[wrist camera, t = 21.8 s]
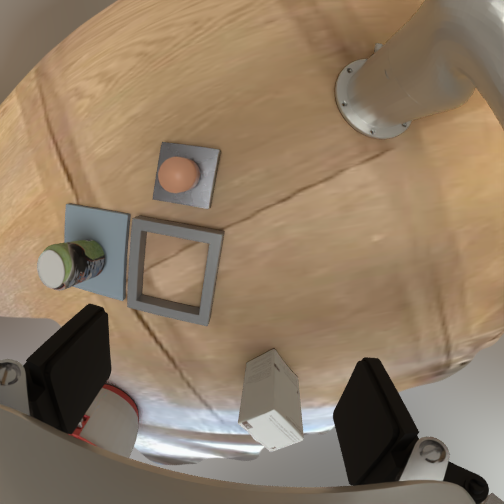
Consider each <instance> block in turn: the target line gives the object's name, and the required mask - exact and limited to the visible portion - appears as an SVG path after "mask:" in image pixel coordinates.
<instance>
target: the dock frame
mask: <svg viewBox="0 0 504 504" xmlns="http://www.w3.org/2000/svg"><path fill="white" fill-rule="evenodd" d="M147 232H152V233H157V234H162V235H167V236H173V237H178V238H183V239H188V240H193V241H198V242H203V243H209V244H210V245H209V251H208V257H207V264H206V270H205V277H204V284H203V291H202V298H201V305H200V308H199V307H194V306H190V305H185V304H180V303H176V302H172V301H167V300H163V299H159V298H154V297H150V296H146V295H142V285H143V270H144V257H145V245H146V235H147ZM224 232H225V231H220V230H215V229H209V228H204V227H199V226H193V225H188V224H183V223H177V222H172V221H166V220H161V219H155V218H150V217H144V216H137V217H135V218H133V220H132V231H131V242H130V256H129V273H128V303H127V307H129V308H133V309H137V310H140V311H144V312H148V313H152V314H156V315H160V316H165V317H169V318H173V319H177V320H182V321H186V322H191V323H195V324H200V325H204V326H208V324H209V321H210V317H211V310H212V304H213V298H214V291H215V285H216V279H217V273H218V267H219V261H220V255H221V249H222V243H223V238H224Z"/></svg>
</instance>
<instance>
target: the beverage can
mask: <svg viewBox="0 0 504 504" xmlns="http://www.w3.org/2000/svg"><path fill="white" fill-rule="evenodd" d="M104 265H105V255H104V251H103V249H102V247H101V246H100V245H99V244H98V243H97V242H96V241H94V240H91V239H86V240H79V241H73V242H66V243H60V244H53V245H50V246H48V247H47V248H46V249H45V250H44V251H43V253H42V254H41V255H40V256H39V259H38V263H37V270H38V275H39V277H40V279H41V281H42V282H43V284H44V285H46V286H47V287H49V288H52V289H54V290H64V289H67V288H69V287H71V286H74V285H76V284H79V283H81V282H84V281H86V280H89V279H91V278H94V277H96V276H98V275H99V274H100V273H101V272H102V270H103V268H104Z"/></svg>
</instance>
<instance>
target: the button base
mask: <svg viewBox="0 0 504 504" xmlns="http://www.w3.org/2000/svg"><path fill="white" fill-rule="evenodd" d="M220 154H221V151H220V150H218V149H211V148H205V147H198V146H190V145H183V144H175V143H166V142H162V145H161V150H160V156H159V161H158V167H157V173H156V180H155V186H154V193H153V200H159V201H165V202H171V203H177V204H183V205H189V206H194V207H200V208H206V209H209V208H211V203H212V198H213V192H214V186H215V181H216V175H217V170H218V165H219V160H220ZM171 157H182V158H187V159H191V160H193V161H194V162H195V163H196V164H197V165H198V167H199V170H200V178H199V181H198V183H197V185H196V186H195V187H194V188H192V189H191V190H188V191H184V192H180V193H170V192H168V191H166V190H165V189H164V188H163V187H162V186H161V184H160V182H159V179H158V172H159V169H160V166H161V165H162V163H163V162H164V161H165V160H167V159H169V158H171Z"/></svg>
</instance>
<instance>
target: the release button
mask: <svg viewBox="0 0 504 504" xmlns="http://www.w3.org/2000/svg"><path fill="white" fill-rule="evenodd" d="M199 178H200V170H199V167H198V165H197V164H196V163H195V162H194V161H193V160H191V159H187V158H182V157H171V158H169V159H167V160H165V161H164V162H163V163H162V165H161V166H160V169H159V172H158V179H159V182H160V184H161V186H162V187H163V188H164V189H165V190H166V191H168V192H170V193H180V192H184V191H188V190H191V189H192V188H194V187H195V186H196V185H197V183H198V181H199Z"/></svg>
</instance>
